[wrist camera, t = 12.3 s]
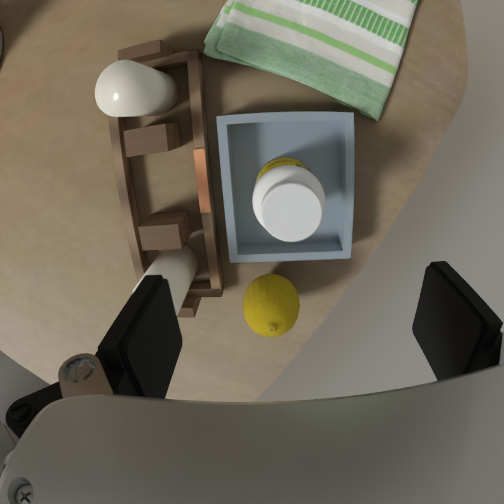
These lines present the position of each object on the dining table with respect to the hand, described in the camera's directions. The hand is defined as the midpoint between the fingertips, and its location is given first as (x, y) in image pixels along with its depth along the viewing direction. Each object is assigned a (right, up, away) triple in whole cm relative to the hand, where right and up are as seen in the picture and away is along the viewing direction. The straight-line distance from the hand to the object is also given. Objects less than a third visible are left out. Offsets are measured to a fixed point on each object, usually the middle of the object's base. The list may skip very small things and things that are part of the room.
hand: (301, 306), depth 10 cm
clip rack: (-10, +9, +19) cm, 23 cm away
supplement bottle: (+1, +8, +18) cm, 20 cm away
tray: (+2, +8, +18) cm, 20 cm away
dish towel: (+6, +27, +10) cm, 30 cm away
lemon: (0, -2, +23) cm, 23 cm away
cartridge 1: (-11, +17, +15) cm, 25 cm away
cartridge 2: (-10, +1, +23) cm, 25 cm away
